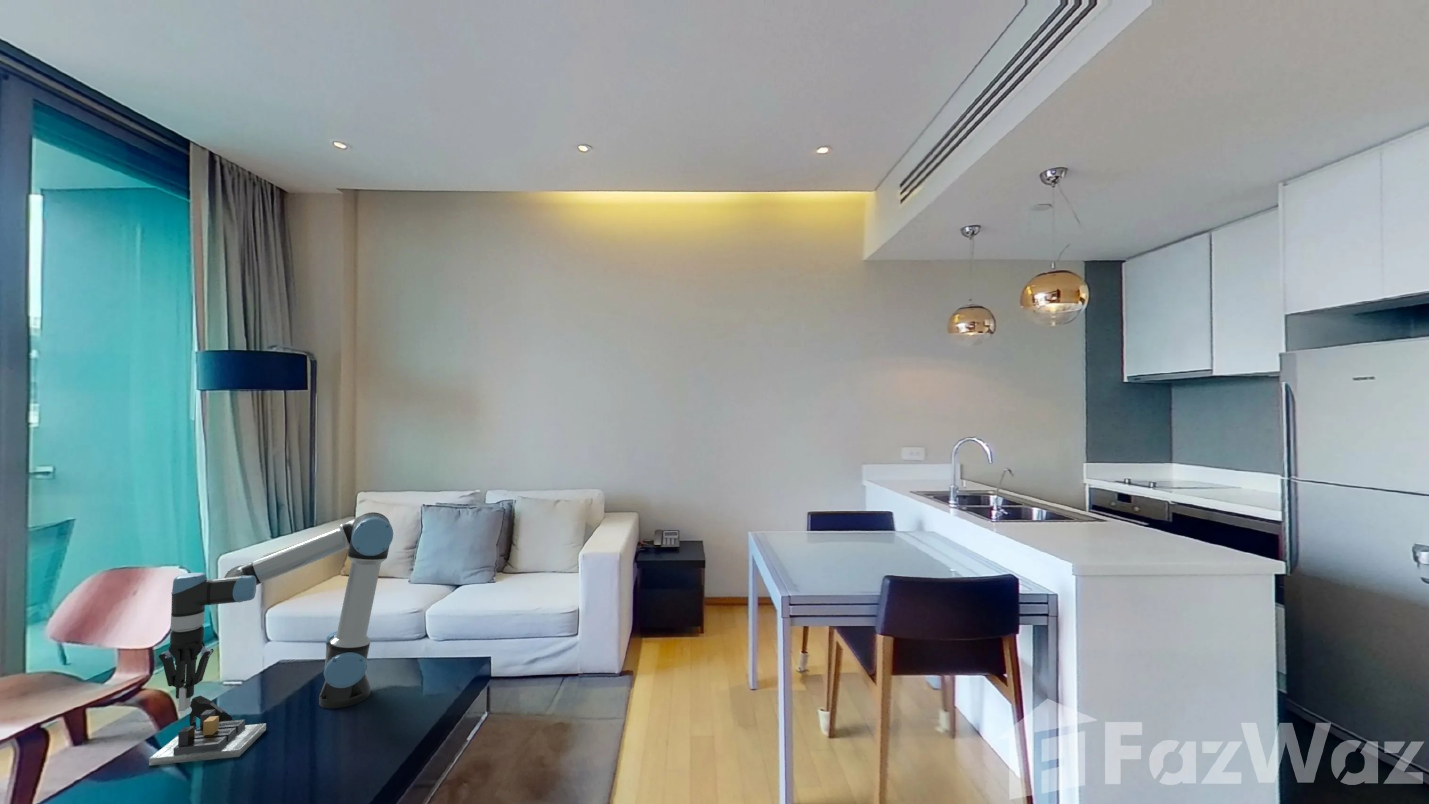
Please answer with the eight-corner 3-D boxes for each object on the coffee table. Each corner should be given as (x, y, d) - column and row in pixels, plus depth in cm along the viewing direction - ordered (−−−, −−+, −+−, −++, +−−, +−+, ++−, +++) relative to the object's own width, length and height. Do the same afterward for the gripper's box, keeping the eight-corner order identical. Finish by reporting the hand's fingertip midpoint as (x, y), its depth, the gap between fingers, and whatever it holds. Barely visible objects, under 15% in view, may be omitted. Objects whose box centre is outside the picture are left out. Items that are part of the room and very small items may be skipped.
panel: (265, 729, 189) (266, 703, 189) (239, 756, 174) (239, 728, 174) (183, 737, 184) (184, 710, 184) (149, 765, 169) (149, 736, 169)
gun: (217, 750, 187) (229, 722, 186) (180, 721, 190) (192, 694, 189) (226, 745, 190) (238, 718, 189) (189, 716, 193) (201, 689, 192)
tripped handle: (218, 729, 181) (218, 715, 181) (212, 734, 178) (212, 720, 178) (209, 730, 180) (209, 716, 180) (203, 735, 177) (203, 721, 177)
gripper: (220, 622, 183) (217, 701, 183) (170, 624, 180) (166, 704, 180) (205, 630, 176) (202, 713, 175) (152, 633, 173) (149, 716, 173)
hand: (184, 708), depth 178 cm, fingers closed
